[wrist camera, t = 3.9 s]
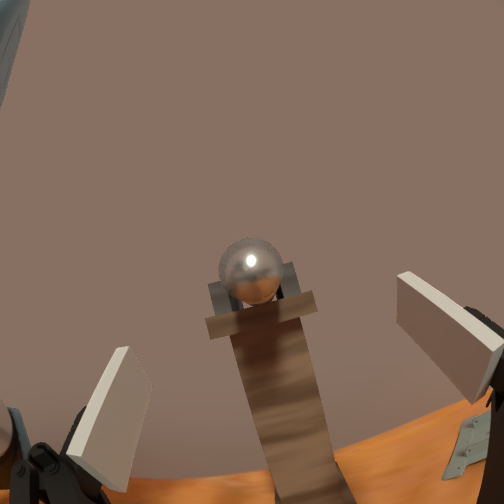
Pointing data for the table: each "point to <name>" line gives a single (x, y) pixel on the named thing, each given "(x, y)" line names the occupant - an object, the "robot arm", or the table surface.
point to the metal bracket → (469, 445)
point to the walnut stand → (282, 390)
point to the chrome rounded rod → (251, 271)
